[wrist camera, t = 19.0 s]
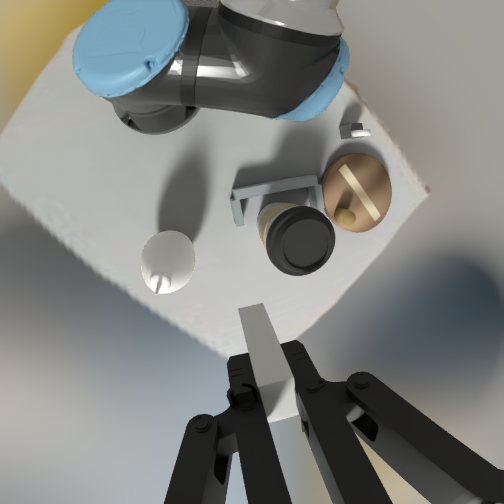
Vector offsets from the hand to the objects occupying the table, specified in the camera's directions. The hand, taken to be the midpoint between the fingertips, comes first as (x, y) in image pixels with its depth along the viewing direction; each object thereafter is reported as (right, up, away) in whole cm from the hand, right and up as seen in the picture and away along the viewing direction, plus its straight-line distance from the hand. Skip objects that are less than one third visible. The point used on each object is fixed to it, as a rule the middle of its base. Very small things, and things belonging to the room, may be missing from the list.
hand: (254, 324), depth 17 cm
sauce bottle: (-13, +5, +29) cm, 32 cm away
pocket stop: (+4, +13, +29) cm, 32 cm away
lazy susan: (+18, +15, +30) cm, 39 cm away
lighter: (+16, +26, +27) cm, 41 cm away
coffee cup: (+4, +10, +30) cm, 32 cm away
